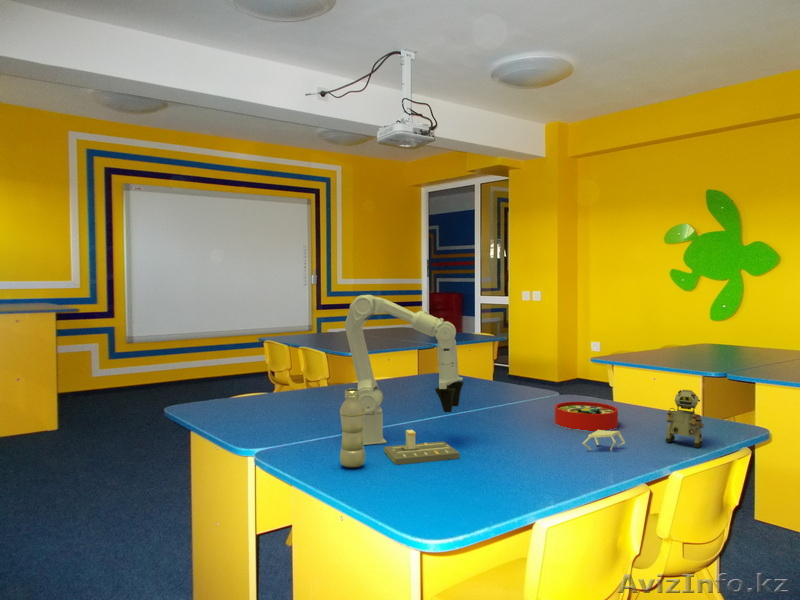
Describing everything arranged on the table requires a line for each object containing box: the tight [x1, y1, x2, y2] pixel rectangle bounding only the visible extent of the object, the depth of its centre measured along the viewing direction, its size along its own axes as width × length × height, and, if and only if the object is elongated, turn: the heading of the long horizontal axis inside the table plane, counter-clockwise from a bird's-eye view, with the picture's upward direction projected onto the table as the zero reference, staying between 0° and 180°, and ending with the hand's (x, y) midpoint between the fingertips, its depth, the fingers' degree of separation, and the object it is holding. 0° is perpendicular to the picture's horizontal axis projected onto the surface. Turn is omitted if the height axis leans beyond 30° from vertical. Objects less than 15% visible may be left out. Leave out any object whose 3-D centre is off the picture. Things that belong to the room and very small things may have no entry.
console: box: [383, 440, 461, 466], centre depth 158 cm, size 18×12×2 cm, turn 106°
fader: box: [402, 429, 419, 451], centre depth 157 cm, size 4×3×5 cm
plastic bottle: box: [339, 388, 366, 469], centre depth 149 cm, size 6×7×20 cm
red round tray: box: [554, 401, 619, 431], centre depth 192 cm, size 20×6×20 cm
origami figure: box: [582, 430, 626, 451], centre depth 163 cm, size 12×8×5 cm
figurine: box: [665, 389, 705, 449], centre depth 168 cm, size 9×12×15 cm
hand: (451, 408), depth 169 cm, fingers open, 7 cm apart
